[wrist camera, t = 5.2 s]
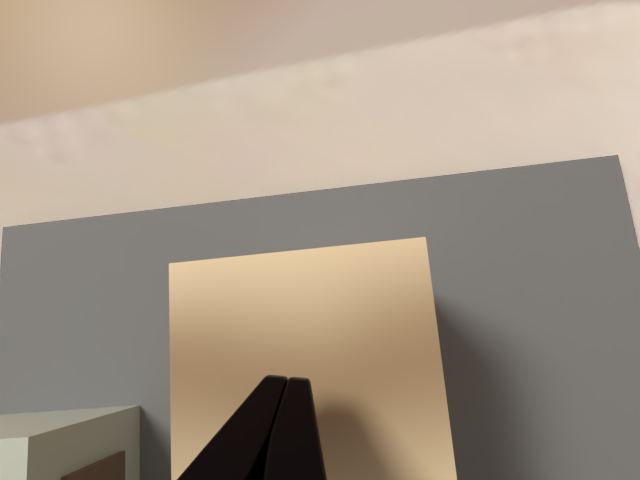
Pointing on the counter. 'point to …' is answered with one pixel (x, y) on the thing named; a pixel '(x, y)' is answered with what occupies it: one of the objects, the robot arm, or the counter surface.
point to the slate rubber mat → (355, 228)
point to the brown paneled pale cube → (71, 444)
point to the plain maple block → (316, 353)
